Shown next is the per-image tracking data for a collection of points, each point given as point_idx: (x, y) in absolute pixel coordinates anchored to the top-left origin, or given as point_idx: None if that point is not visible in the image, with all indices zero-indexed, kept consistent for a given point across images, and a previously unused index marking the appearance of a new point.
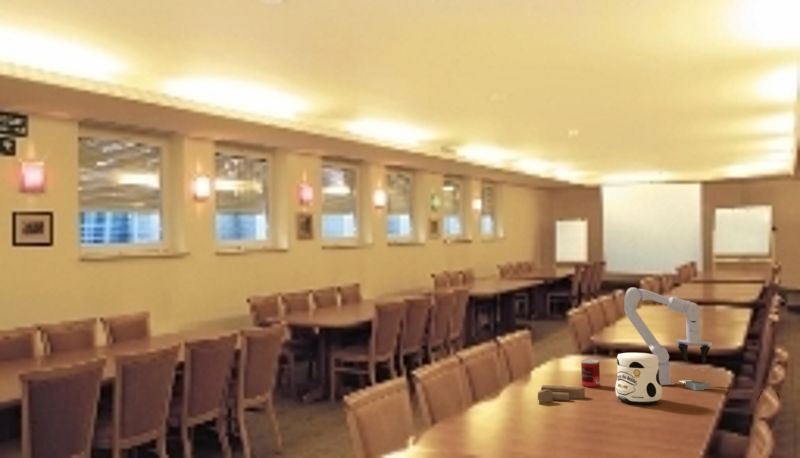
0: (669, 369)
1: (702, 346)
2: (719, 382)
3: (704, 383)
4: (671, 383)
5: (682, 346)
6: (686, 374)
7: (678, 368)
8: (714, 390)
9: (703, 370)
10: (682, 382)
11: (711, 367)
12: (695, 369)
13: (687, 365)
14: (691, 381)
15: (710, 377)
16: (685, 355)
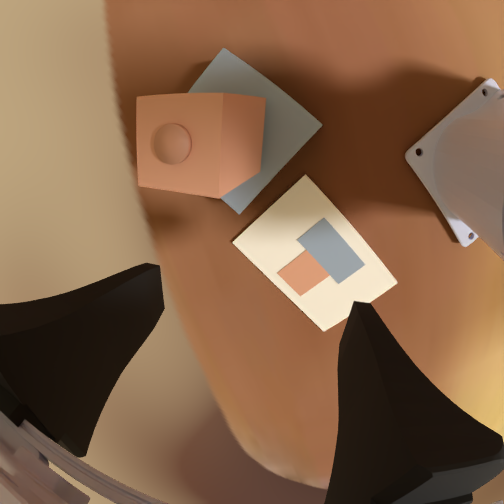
0: (477, 179)
1: (16, 403)
2: (203, 333)
3: None
4: (421, 148)
5: (429, 474)
6: None
7: None
8: None
9: (138, 138)
10: (370, 248)
11: (300, 481)
12: (192, 94)
13: None
14: (276, 125)
15: (268, 403)
16: (358, 367)
